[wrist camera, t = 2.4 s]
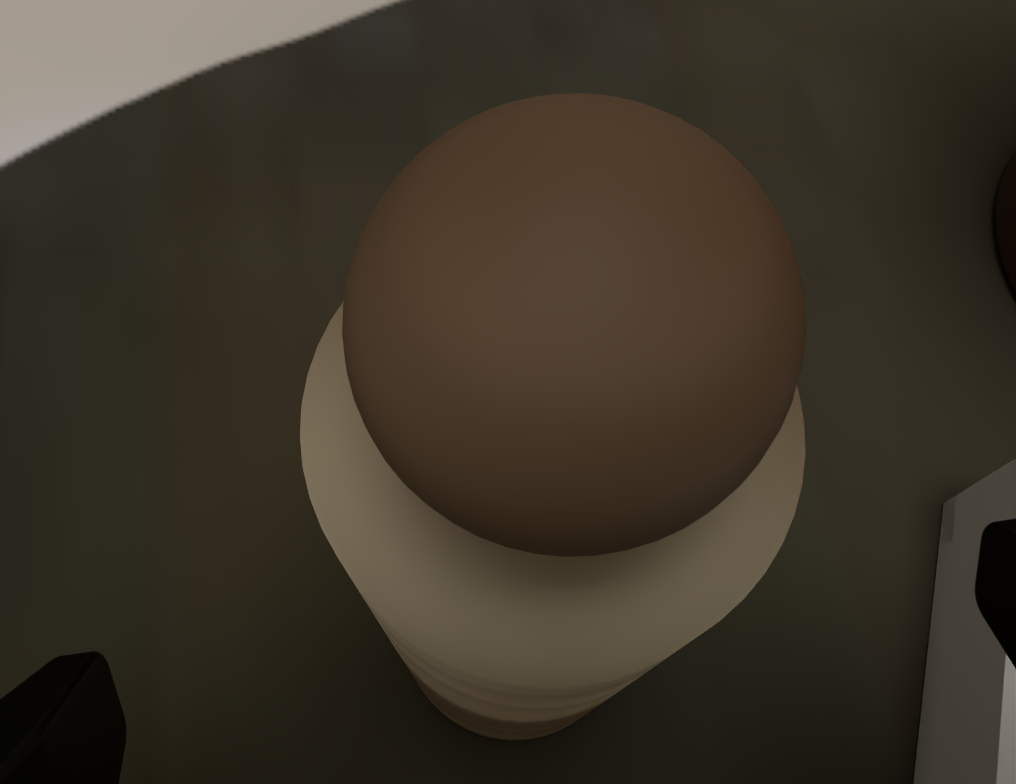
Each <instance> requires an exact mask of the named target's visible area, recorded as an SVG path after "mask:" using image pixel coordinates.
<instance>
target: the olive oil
mask: <svg viewBox="0 0 1016 784" xmlns="http://www.w3.org/2000/svg"><path fill="white" fill-rule="evenodd" d="M995 224H996V235H997V241H998V246H999V251H1000V255H1001V258H1002V261H1003V264H1004V267H1005V270H1006V273H1007V275H1008V278H1009V280H1010V282H1011V284H1012V286H1013V288H1014V290H1015V292H1016V151H1015V152H1014V154H1013V156H1012V157H1011V159H1010V161H1009V163H1008V165H1007V167H1006V169H1005V171H1004V174H1003V176H1002V179H1001V182H1000V185H999V189H998V194H997V200H996V210H995Z"/></svg>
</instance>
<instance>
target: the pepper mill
mask: <svg viewBox="0 0 1016 784" xmlns="http://www.w3.org/2000/svg"><path fill="white" fill-rule="evenodd" d="M805 336H806V334H805V305H804V291H803V286H802V281H801V276H800V270H799V267H798V264H797V261H796V258H795V255H794V252H793V249H792V246H791V243H790V240H789V237H788V234H787V231H786V229H785V227H784V225H783V223H782V221H781V219H780V217H779V215H778V213H777V211H776V209H775V208H774V206H773V205H772V203H771V202H770V200H769V199H768V197H767V196H766V194H765V193H764V191H763V190H762V188H761V187H760V186H759V184H758V183H757V182H756V180H755V179H754V178H753V177H752V176H751V174H750V173H749V172H748V171H747V170H746V169H745V168H744V166H743V165H742V164H741V163H740V162H739V161H738V160H737V159H736V158H735V157H734V156H733V155H732V154H731V153H730V152H728V151H727V150H726V149H725V148H724V147H723V146H722V145H721V144H719V143H718V142H717V141H715V140H714V139H712V138H711V137H710V136H708V135H707V134H705V133H704V132H702V131H701V130H700V129H698V128H696V127H694V126H692V125H691V124H689V123H687V122H685V121H683V120H682V119H680V118H678V117H676V116H673V115H671V114H668V113H666V112H664V111H661V110H659V109H657V108H654V107H652V106H648V105H645V104H642V103H639V102H635V101H632V100H628V99H623V98H618V97H613V96H607V95H596V94H554V95H546V96H537V97H531V98H527V99H522V100H518V101H514V102H509V103H507V104H504V105H501V106H498V107H495V108H492V109H489V110H487V111H484V112H482V113H480V114H478V115H476V116H474V117H472V118H470V119H468V120H466V121H464V122H463V123H461V124H459V125H458V126H456V127H455V128H453V129H452V130H450V131H448V132H447V133H445V134H444V135H442V136H441V137H439V138H437V139H436V140H435V141H433V142H432V143H431V144H430V145H428V146H427V147H426V148H425V149H424V150H422V151H421V152H420V153H419V154H418V155H416V156H415V157H414V158H413V160H412V161H411V162H410V163H409V164H408V165H407V166H406V167H405V168H404V169H403V170H402V171H401V172H400V173H399V175H398V176H397V177H396V178H395V180H394V181H393V182H392V183H391V185H390V186H389V187H388V189H387V190H386V192H385V193H384V194H383V196H382V197H381V199H380V200H379V201H378V203H377V204H376V206H375V208H374V210H373V212H372V214H371V215H370V217H369V219H368V221H367V223H366V225H365V227H364V229H363V232H362V234H361V236H360V239H359V241H358V244H357V247H356V250H355V253H354V255H353V258H352V261H351V264H350V268H349V273H348V278H347V283H346V289H345V295H344V302H343V303H342V305H341V306H340V308H339V309H338V310H337V312H336V313H335V315H334V316H333V318H332V319H331V321H330V323H329V325H328V327H327V329H326V331H325V333H324V335H323V337H322V339H321V340H320V342H319V344H318V346H317V349H316V352H315V355H314V358H313V361H312V364H311V366H310V369H309V372H308V375H307V380H306V385H305V390H304V395H303V400H302V408H301V425H300V442H301V454H302V465H303V471H304V475H305V479H306V484H307V488H308V492H309V497H310V500H311V502H312V505H313V508H314V510H315V513H316V515H317V518H318V520H319V523H320V526H321V528H322V530H323V532H324V534H325V536H326V537H327V539H328V541H329V543H330V544H331V546H332V548H333V550H334V552H335V553H336V555H337V557H338V559H339V560H340V562H341V563H342V565H343V567H344V568H345V570H346V571H347V573H348V575H349V576H350V578H351V579H352V581H353V582H354V584H355V586H356V587H357V589H358V590H359V592H360V594H361V595H362V597H363V598H364V600H365V601H366V603H367V605H368V606H369V608H370V609H371V611H372V613H373V614H374V616H375V617H376V619H377V621H378V622H379V624H380V625H381V627H382V628H383V630H384V632H385V633H386V635H387V636H388V638H389V640H390V641H391V643H392V644H393V646H394V647H395V649H396V651H397V652H398V654H399V655H400V657H401V659H402V660H403V662H404V663H405V665H406V666H407V668H408V670H409V671H410V673H411V674H412V676H413V678H414V679H415V681H416V682H417V684H418V685H419V687H420V689H421V690H422V691H423V693H424V694H425V695H426V697H427V698H428V699H429V701H430V702H431V703H432V704H433V705H434V706H435V707H436V708H437V709H438V710H439V711H440V712H441V713H442V714H443V715H445V716H446V717H447V718H448V719H450V720H451V721H452V722H454V723H455V724H457V725H459V726H461V727H463V728H464V729H466V730H468V731H471V732H473V733H476V734H478V735H481V736H485V737H489V738H493V739H499V740H508V741H517V740H530V739H535V738H541V737H544V736H547V735H550V734H553V733H556V732H558V731H560V730H562V729H564V728H566V727H568V726H570V725H571V724H573V723H574V722H576V721H577V720H579V719H580V718H582V717H583V716H585V715H586V714H587V713H589V712H590V711H592V710H593V709H595V708H596V707H597V706H599V705H600V704H602V703H603V702H605V701H606V700H607V699H609V698H610V697H612V696H613V695H615V694H616V693H617V692H619V691H620V690H622V689H623V688H625V687H626V686H628V685H629V684H630V683H632V682H633V681H635V680H636V679H638V678H639V677H640V676H642V675H643V674H645V673H646V672H648V671H649V670H650V669H652V668H653V667H655V666H656V665H658V664H659V663H660V662H662V661H663V660H665V659H666V658H668V657H669V656H671V655H672V654H673V653H675V652H676V651H678V650H679V649H681V648H682V647H683V646H685V645H686V644H688V643H689V642H691V641H692V640H693V639H695V638H696V637H698V636H699V635H701V634H702V633H704V632H705V631H706V630H708V629H709V628H711V627H712V626H714V625H715V624H716V623H718V622H719V621H720V620H721V619H723V618H724V617H725V616H726V615H727V614H728V613H729V612H730V611H731V610H732V609H733V608H735V607H736V606H737V605H738V604H739V603H740V602H741V601H742V600H743V599H744V598H745V597H746V596H747V595H748V594H749V592H750V591H751V590H752V589H753V587H754V586H755V585H756V584H757V582H758V581H759V580H760V579H761V578H762V576H763V575H764V574H765V573H766V571H767V569H768V568H769V566H770V564H771V563H772V561H773V559H774V558H775V556H776V554H777V553H778V551H779V549H780V548H781V546H782V544H783V542H784V539H785V537H786V534H787V532H788V529H789V527H790V525H791V522H792V520H793V517H794V515H795V511H796V507H797V503H798V499H799V495H800V491H801V487H802V481H803V472H804V462H805V431H804V419H803V413H802V407H801V402H800V396H799V391H798V388H797V382H798V378H799V375H800V371H801V367H802V363H803V355H804V345H805Z"/></svg>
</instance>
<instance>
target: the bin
mask: <svg viewBox="0 0 1016 784" xmlns="http://www.w3.org/2000/svg"><path fill="white" fill-rule="evenodd" d="M1015 518H1016V459H1014V460H1013V461H1011V462H1009V463H1008V464H1006V465H1005V466H1003V467H1001V468H1000V469H998V470H996V471H995V472H993V473H992V474H990V475H988V476H987V477H985V478H983V479H982V480H980V481H979V482H977V483H975V484H974V485H972V486H970V487H969V488H967V489H966V490H964V491H962V492H961V493H959V494H957V495H956V496H954V497H953V498H951V499H949V500H948V501H946V502H944V504H943V513H942V522H941V532H940V541H939V550H938V559H937V569H936V578H935V587H934V596H933V606H932V615H931V624H930V634H929V643H928V652H927V661H926V671H925V680H924V689H923V698H922V708H921V717H920V726H919V736H918V745H917V754H916V763H915V773H914V782H913V784H1016V669H1015V667H1014V666H1013V664H1012V662H1011V661H1010V659H1009V658H1008V656H1007V654H1006V653H1005V651H1004V650H1003V648H1002V646H1001V645H1000V643H999V642H998V640H997V638H996V637H995V635H994V634H993V632H992V630H991V629H990V627H989V626H988V624H987V623H986V621H985V619H984V618H983V616H982V614H981V612H980V611H979V608H978V606H977V602H976V598H975V580H976V573H977V565H978V558H979V550H980V542H981V536H982V532H983V530H984V529H985V527H986V526H987V525H988V524H990V523H991V522H995V521H1002V520H1009V519H1015Z"/></svg>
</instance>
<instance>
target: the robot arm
mask: <svg viewBox="0 0 1016 784" xmlns="http://www.w3.org/2000/svg"><path fill="white" fill-rule="evenodd" d="M975 598H976V602H977V606H978V608H979V611H980V612H981V614H982V616H983V618H984V619H985V621H986V623H987V624H988V626H989V627H990V629H991V630H992V632H993V634H994V635H995V637H996V638H997V640H998V642H999V643H1000V645H1001V646H1002V648H1003V650H1004V651H1005V653H1006V654H1007V656H1008V658H1009V659H1010V661H1011V662H1012V664H1013V666H1014V667H1015V669H1016V518H1015V519H1009V520H1002V521H995V522H991V523H990V524H988V525H987V526H986V527H985V529H984V530H983V532H982V536H981V542H980V550H979V558H978V565H977V573H976V580H975ZM125 744H126V722H125V717H124V713H123V710H122V707H121V704H120V700H119V697H118V694H117V691H116V688H115V684H114V681H113V678H112V675H111V672H110V668H109V665H108V663H107V661H106V659H105V658H104V656H103V655H102V654H100V653H98V652H96V651H92V652H85V653H78V654H71V655H64V656H59V657H56V658H54V659H52V660H51V661H50V662H48V663H47V664H46V665H44V666H43V667H42V668H41V669H39V670H38V671H37V672H35V673H34V674H33V675H31V676H30V677H29V678H28V679H26V680H25V681H24V682H22V683H21V684H20V685H18V686H17V687H16V688H14V689H13V690H12V691H11V692H9V693H8V694H7V695H5V696H4V697H3V698H1V699H0V784H119V778H120V772H121V767H122V761H123V755H124V750H125Z"/></svg>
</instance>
